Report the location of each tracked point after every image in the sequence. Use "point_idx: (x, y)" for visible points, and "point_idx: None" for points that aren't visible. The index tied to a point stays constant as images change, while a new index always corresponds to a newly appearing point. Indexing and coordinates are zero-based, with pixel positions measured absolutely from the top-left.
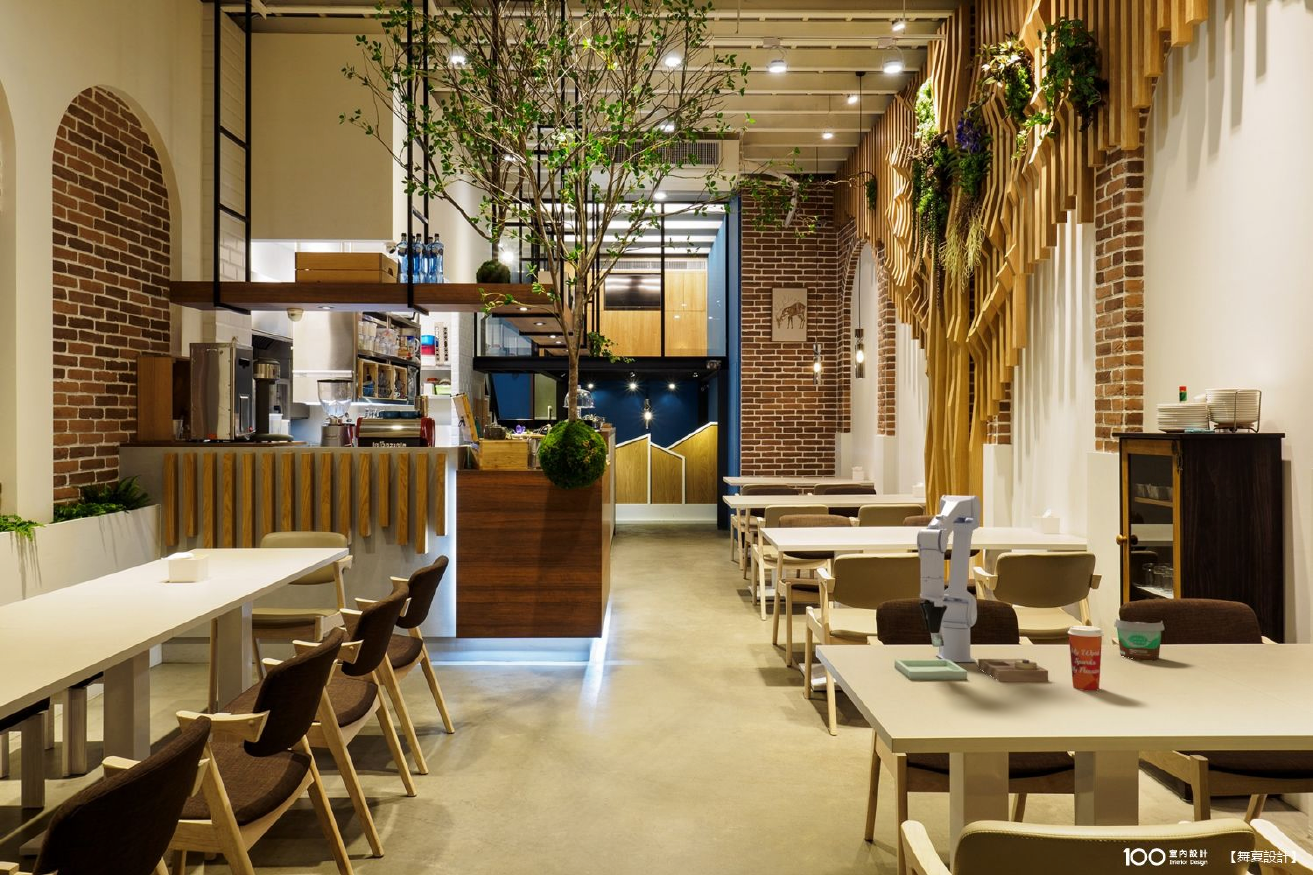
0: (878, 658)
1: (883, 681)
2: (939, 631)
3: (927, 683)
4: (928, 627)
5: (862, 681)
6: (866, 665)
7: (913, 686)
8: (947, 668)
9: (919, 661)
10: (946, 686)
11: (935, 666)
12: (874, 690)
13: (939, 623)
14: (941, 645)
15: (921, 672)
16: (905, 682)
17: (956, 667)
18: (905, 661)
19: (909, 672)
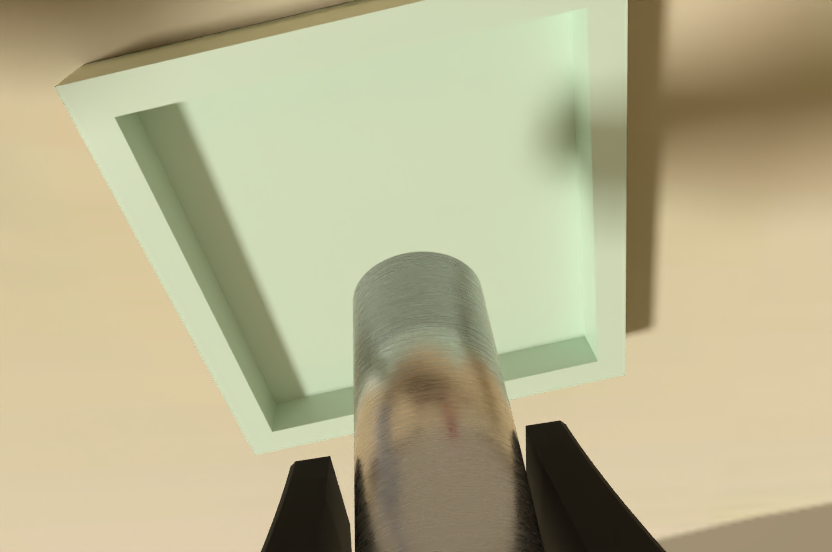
0: (9, 492)
1: (637, 442)
2: (513, 424)
3: (703, 252)
4: (345, 546)
5: (633, 507)
6: (255, 521)
7: (767, 322)
8: (257, 95)
9: (219, 317)
10: (806, 142)
11: (207, 189)
12: (813, 461)
13: (635, 543)
14: (478, 282)
15: (623, 311)
16: (666, 358)
17: (436, 41)
18: (258, 396)
19: (613, 371)
